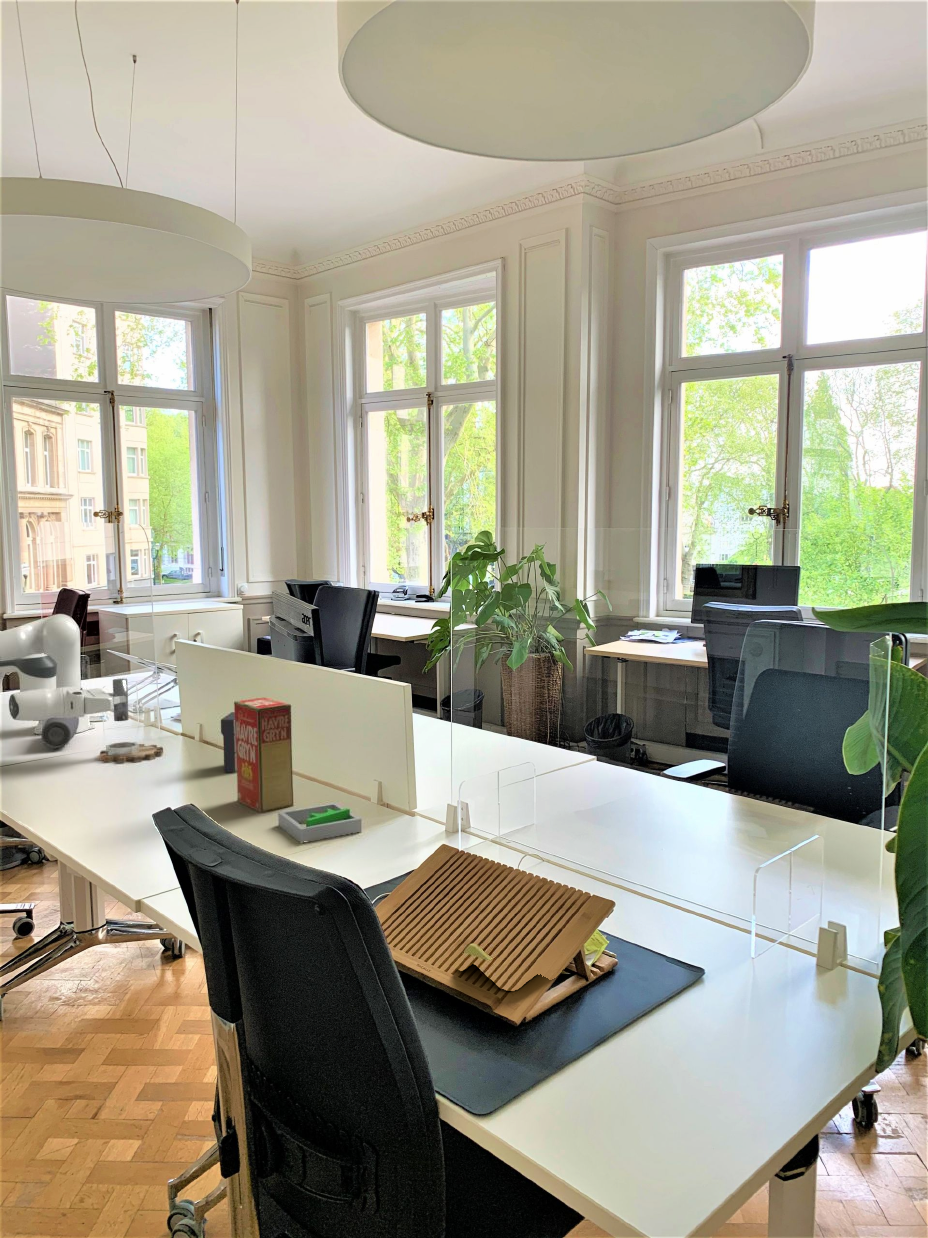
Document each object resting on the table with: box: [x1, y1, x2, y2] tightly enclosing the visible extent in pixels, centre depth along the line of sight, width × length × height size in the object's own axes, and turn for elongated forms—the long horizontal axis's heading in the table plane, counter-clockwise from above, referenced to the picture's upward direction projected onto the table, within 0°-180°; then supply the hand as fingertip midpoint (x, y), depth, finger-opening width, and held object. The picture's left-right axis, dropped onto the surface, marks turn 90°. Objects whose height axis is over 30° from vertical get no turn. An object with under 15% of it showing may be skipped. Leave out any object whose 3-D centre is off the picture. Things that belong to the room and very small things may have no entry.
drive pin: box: [112, 678, 130, 722], centre depth 263 cm, size 4×4×12 cm
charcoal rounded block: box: [220, 711, 237, 774], centre depth 251 cm, size 11×4×15 cm, turn 179°
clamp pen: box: [277, 802, 362, 843], centre depth 199 cm, size 14×14×3 cm
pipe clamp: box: [305, 807, 351, 827], centre depth 197 cm, size 11×4×5 cm, turn 137°
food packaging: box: [233, 697, 294, 813], centre depth 217 cm, size 13×9×25 cm
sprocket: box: [98, 741, 164, 764], centre depth 266 cm, size 18×18×4 cm
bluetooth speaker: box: [40, 717, 79, 749], centre depth 282 cm, size 23×9×10 cm, turn 17°
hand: (123, 697), depth 264 cm, fingers closed on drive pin, 4 cm apart
